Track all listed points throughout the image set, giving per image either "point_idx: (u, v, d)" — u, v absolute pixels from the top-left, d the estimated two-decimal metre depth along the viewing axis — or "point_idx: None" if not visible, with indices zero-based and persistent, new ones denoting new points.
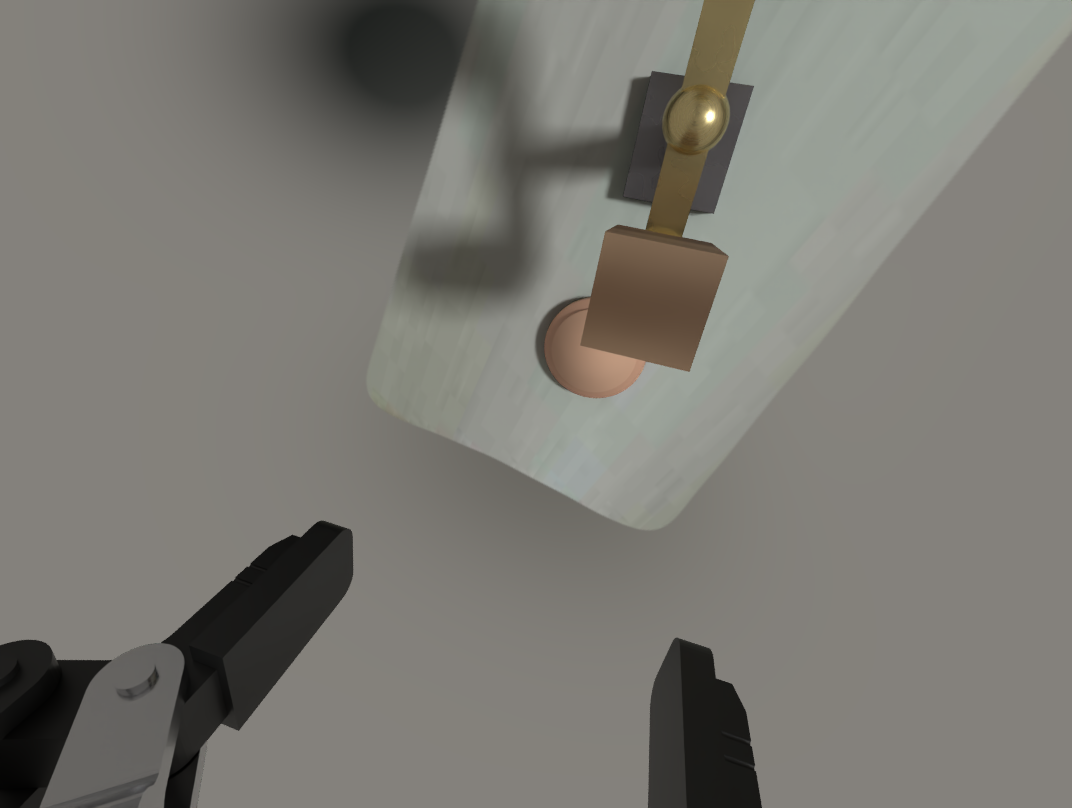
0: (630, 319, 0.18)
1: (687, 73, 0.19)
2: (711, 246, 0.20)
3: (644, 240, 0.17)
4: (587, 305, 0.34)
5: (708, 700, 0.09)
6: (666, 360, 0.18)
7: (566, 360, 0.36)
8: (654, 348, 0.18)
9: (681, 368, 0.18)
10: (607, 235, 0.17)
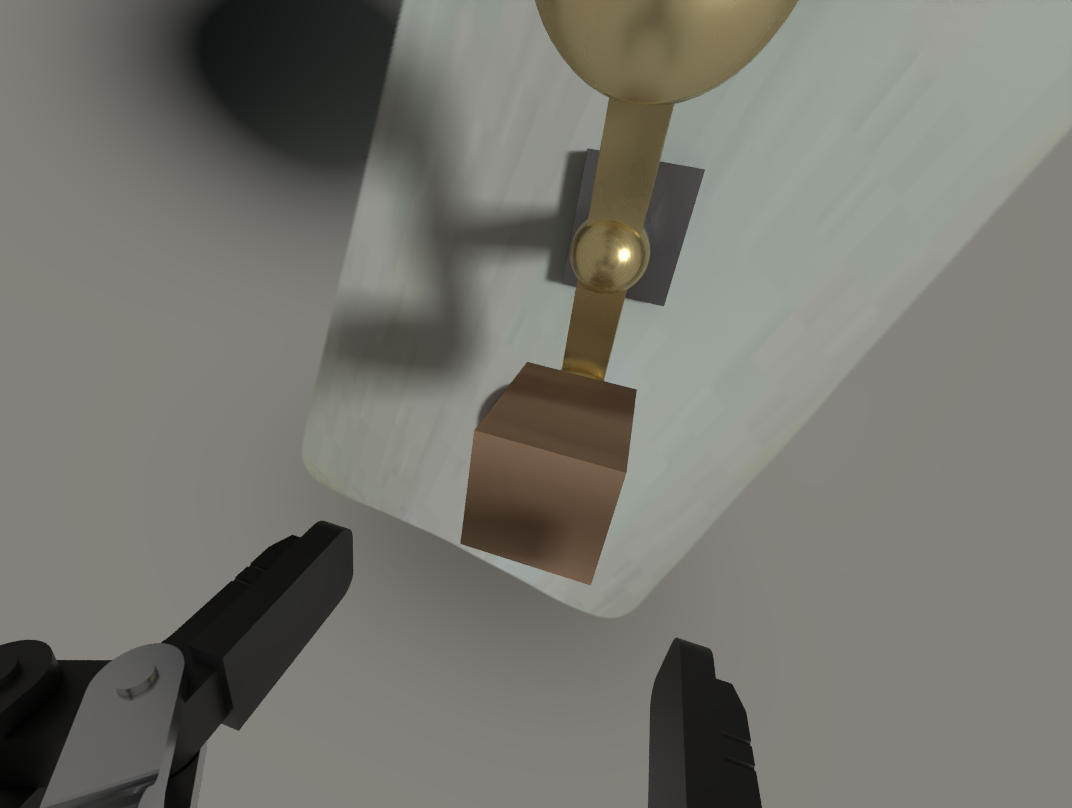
0: (516, 524, 0.14)
1: (592, 207, 0.15)
2: (625, 415, 0.16)
3: (522, 445, 0.13)
4: None
5: (708, 700, 0.09)
6: (562, 571, 0.15)
7: None
8: (547, 557, 0.15)
9: (581, 581, 0.15)
10: (477, 434, 0.13)
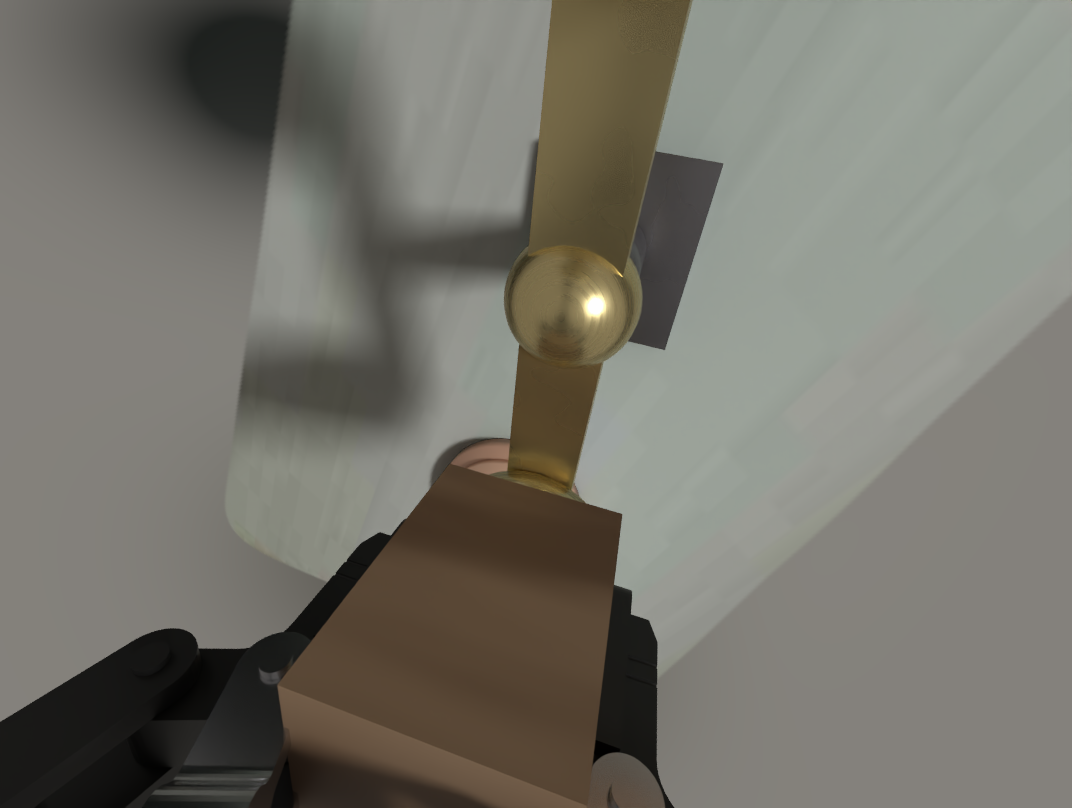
0: None
1: (535, 222, 0.08)
2: (600, 590, 0.09)
3: (371, 725, 0.06)
4: (491, 454, 0.24)
5: (620, 629, 0.10)
6: None
7: None
8: None
9: None
10: (285, 692, 0.07)
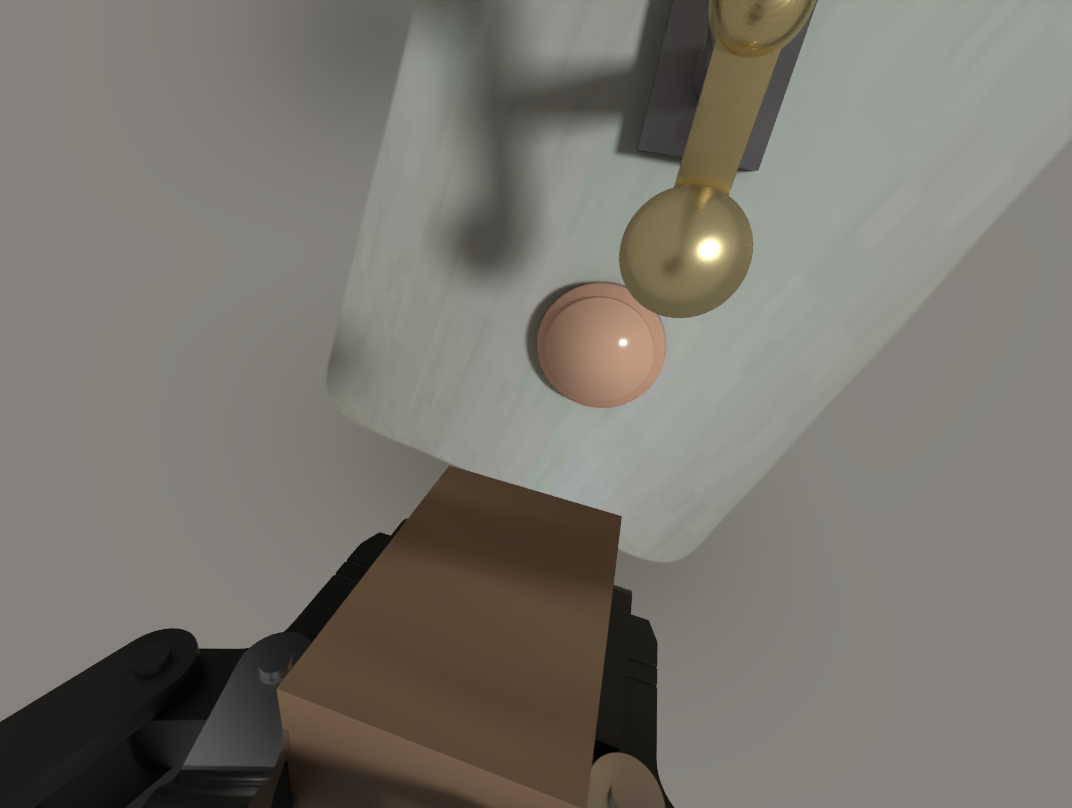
0: None
1: None
2: (599, 592, 0.09)
3: (370, 729, 0.06)
4: (590, 292, 0.27)
5: (620, 629, 0.10)
6: None
7: (564, 361, 0.29)
8: None
9: None
10: (284, 695, 0.07)
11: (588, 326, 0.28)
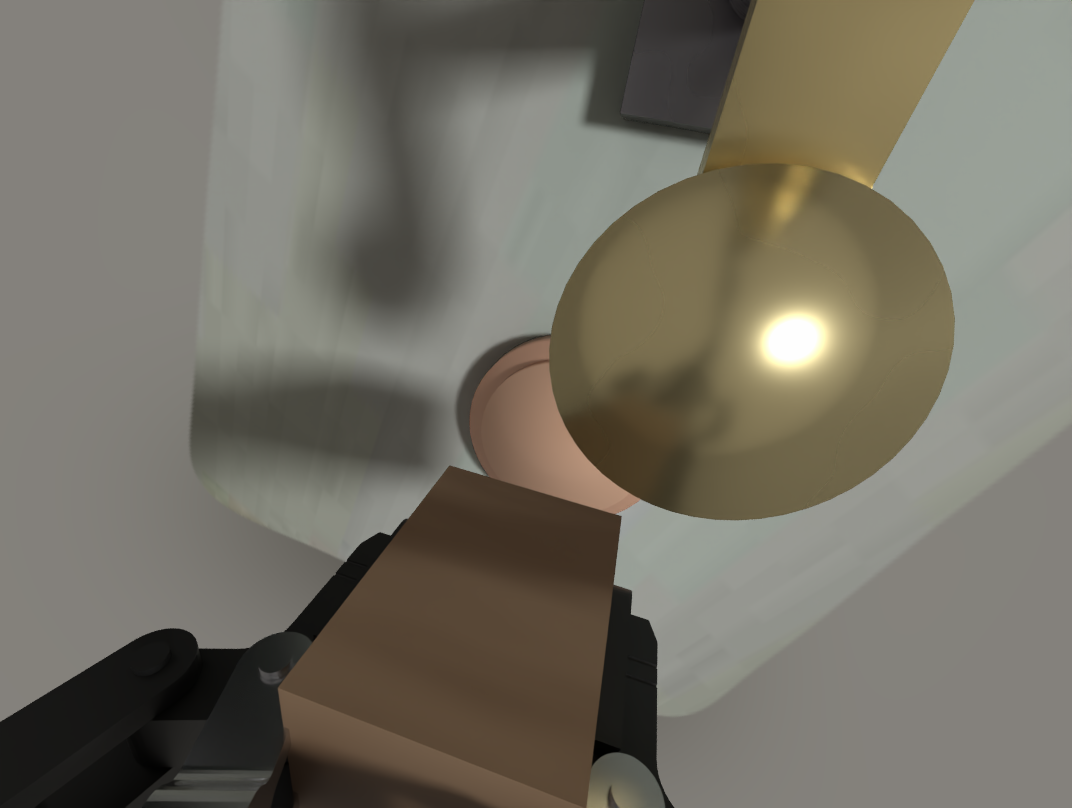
0: None
1: None
2: (599, 592, 0.09)
3: (371, 728, 0.06)
4: (547, 353, 0.17)
5: (620, 629, 0.10)
6: None
7: (510, 455, 0.19)
8: None
9: None
10: (285, 694, 0.07)
11: (545, 405, 0.17)
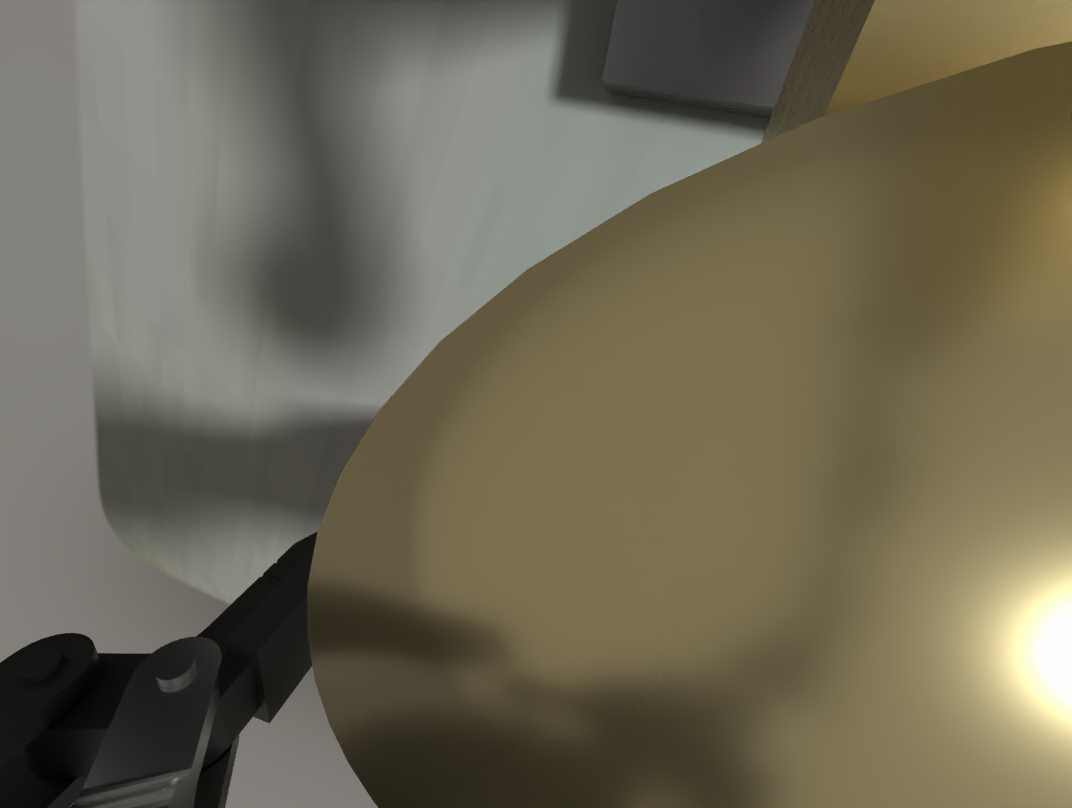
0: None
1: None
2: None
3: None
4: None
5: None
6: None
7: None
8: None
9: None
10: None
11: None
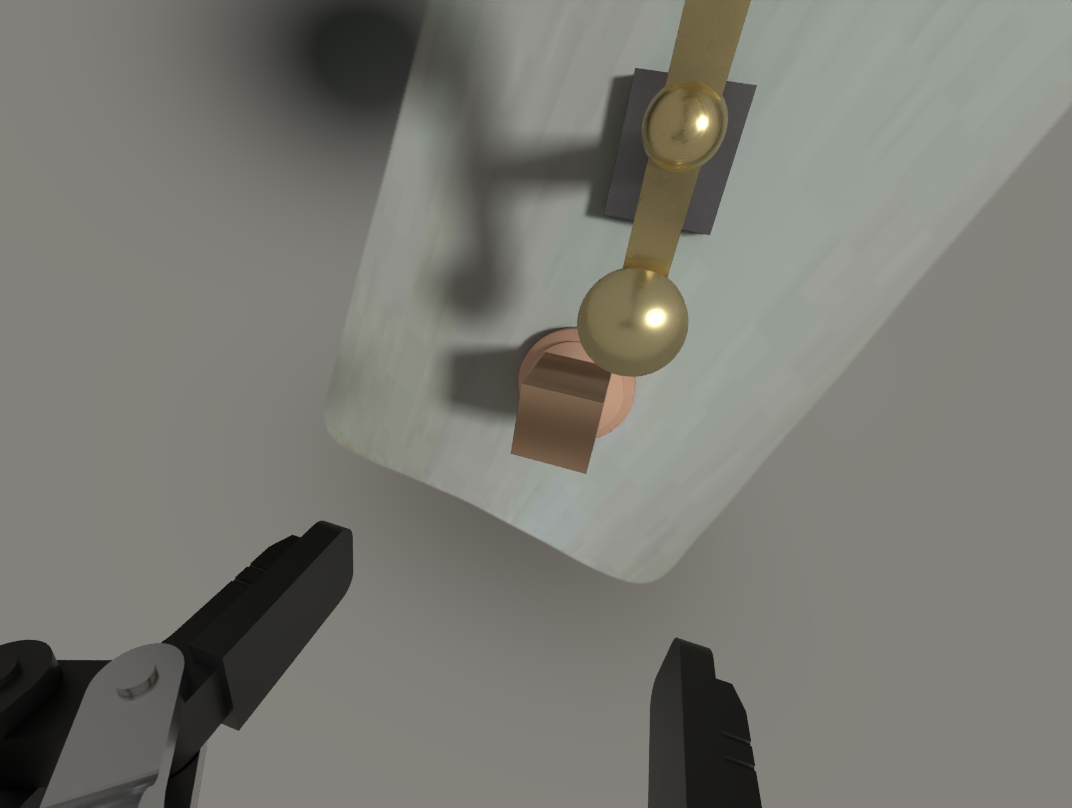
0: (543, 438, 0.26)
1: (672, 67, 0.14)
2: (605, 379, 0.27)
3: (547, 390, 0.25)
4: (565, 337, 0.30)
5: (708, 700, 0.09)
6: (570, 465, 0.26)
7: None
8: (561, 457, 0.26)
9: (580, 471, 0.26)
10: (523, 385, 0.25)
11: None
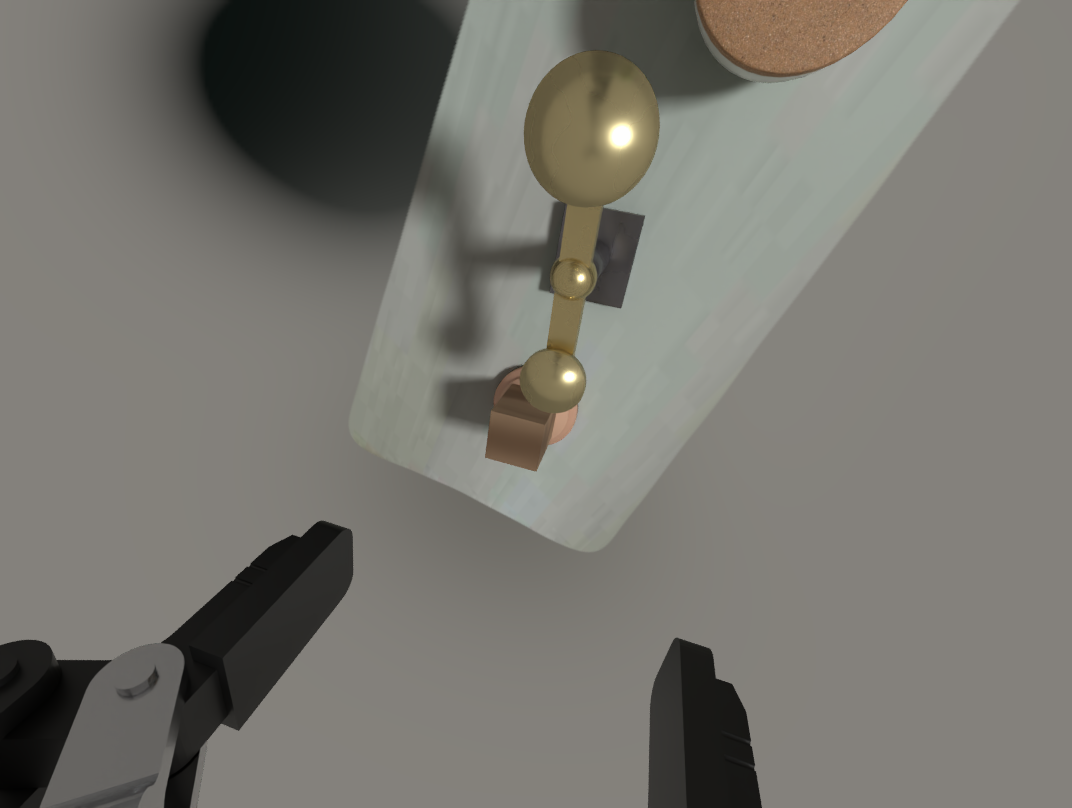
0: (506, 447, 0.38)
1: (561, 251, 0.26)
2: None
3: (508, 415, 0.36)
4: None
5: (708, 700, 0.09)
6: (525, 466, 0.38)
7: None
8: (519, 460, 0.38)
9: (532, 470, 0.38)
10: (492, 412, 0.37)
11: None
